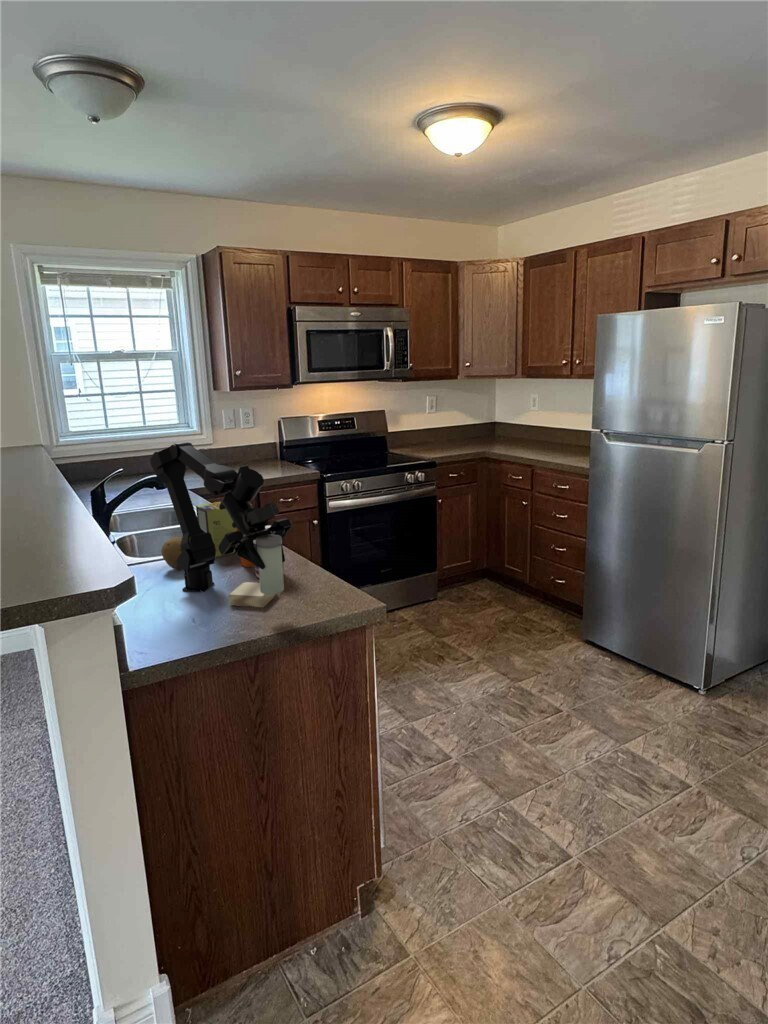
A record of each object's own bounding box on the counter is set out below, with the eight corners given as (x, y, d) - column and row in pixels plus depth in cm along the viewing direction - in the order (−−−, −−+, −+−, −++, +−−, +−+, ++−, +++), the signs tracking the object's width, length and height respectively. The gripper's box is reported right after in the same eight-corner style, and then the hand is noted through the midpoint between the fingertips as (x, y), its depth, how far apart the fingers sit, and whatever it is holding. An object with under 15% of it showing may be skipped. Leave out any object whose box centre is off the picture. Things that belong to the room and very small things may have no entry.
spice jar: (255, 593, 148) (251, 541, 145) (265, 584, 154) (261, 534, 151) (279, 595, 147) (275, 542, 144) (288, 586, 153) (285, 534, 150)
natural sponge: (171, 563, 194) (168, 532, 192) (199, 564, 193) (196, 532, 191) (158, 573, 186) (154, 541, 183) (187, 574, 185) (184, 541, 182)
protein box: (256, 549, 207) (252, 503, 203) (211, 558, 199) (206, 511, 195) (243, 542, 215) (239, 498, 212) (199, 550, 207) (194, 505, 203)
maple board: (230, 605, 160) (229, 594, 159) (245, 592, 169) (244, 582, 168) (262, 607, 158) (262, 596, 157) (276, 594, 167) (275, 583, 166)
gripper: (221, 500, 141) (255, 556, 136) (285, 486, 154) (318, 536, 150) (204, 528, 148) (236, 582, 143) (267, 512, 161) (298, 561, 157)
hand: (274, 564), depth 148 cm, fingers closed on spice jar, 6 cm apart
